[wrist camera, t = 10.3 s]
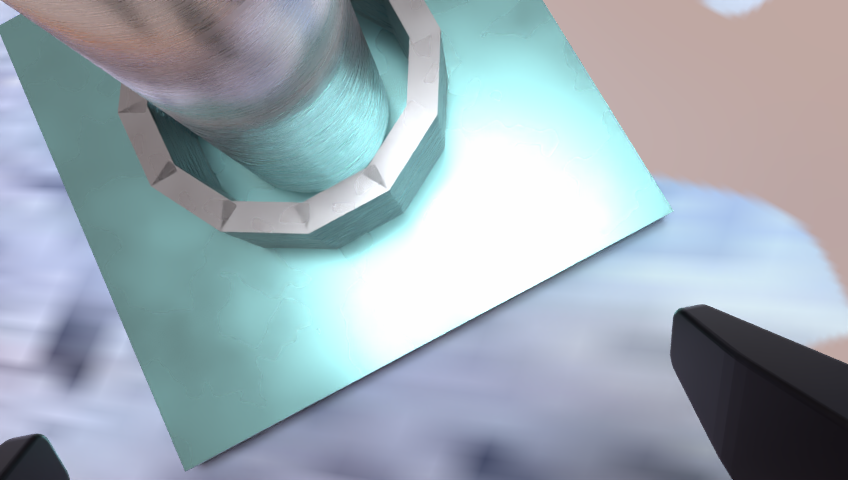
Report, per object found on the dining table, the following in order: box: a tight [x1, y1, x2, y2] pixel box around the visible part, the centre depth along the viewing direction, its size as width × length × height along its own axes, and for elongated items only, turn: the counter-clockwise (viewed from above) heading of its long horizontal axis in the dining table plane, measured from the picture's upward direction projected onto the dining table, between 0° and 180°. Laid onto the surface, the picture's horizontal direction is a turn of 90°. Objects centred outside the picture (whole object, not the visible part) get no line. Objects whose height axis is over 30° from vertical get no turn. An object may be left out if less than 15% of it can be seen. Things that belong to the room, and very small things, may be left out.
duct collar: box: [0, 0, 673, 471], centre depth 18 cm, size 16×16×4 cm
